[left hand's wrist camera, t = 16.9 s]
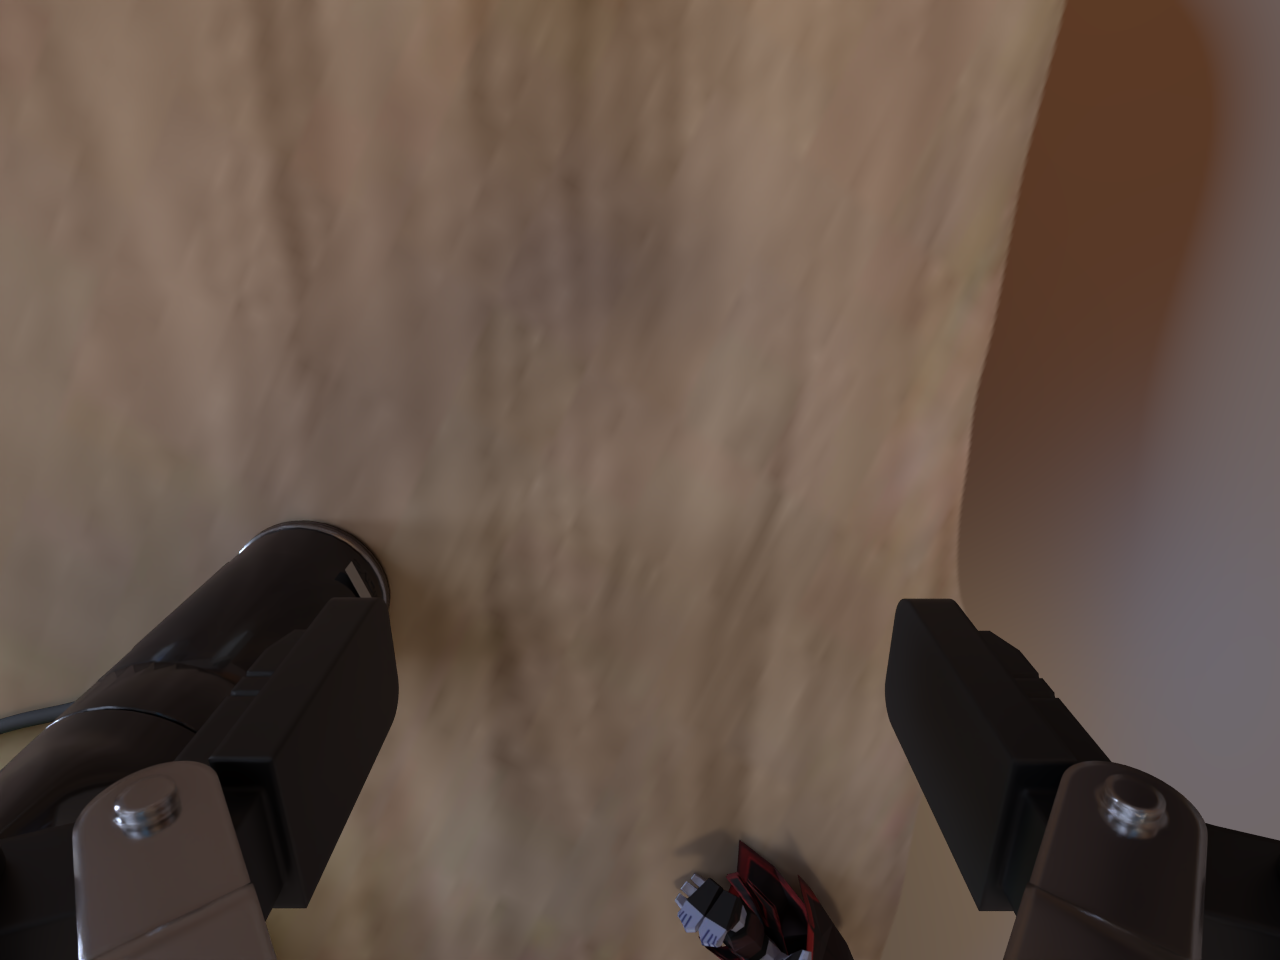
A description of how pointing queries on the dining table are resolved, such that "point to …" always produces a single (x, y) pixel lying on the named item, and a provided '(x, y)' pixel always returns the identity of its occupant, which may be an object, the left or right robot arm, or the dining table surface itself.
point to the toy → (759, 916)
